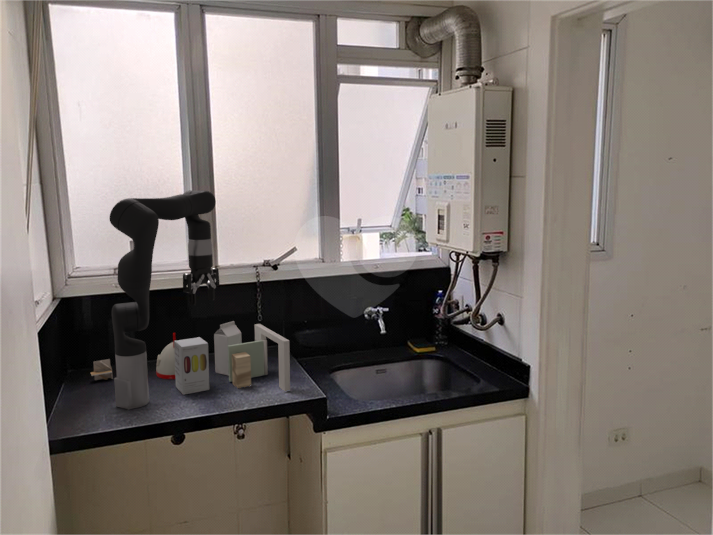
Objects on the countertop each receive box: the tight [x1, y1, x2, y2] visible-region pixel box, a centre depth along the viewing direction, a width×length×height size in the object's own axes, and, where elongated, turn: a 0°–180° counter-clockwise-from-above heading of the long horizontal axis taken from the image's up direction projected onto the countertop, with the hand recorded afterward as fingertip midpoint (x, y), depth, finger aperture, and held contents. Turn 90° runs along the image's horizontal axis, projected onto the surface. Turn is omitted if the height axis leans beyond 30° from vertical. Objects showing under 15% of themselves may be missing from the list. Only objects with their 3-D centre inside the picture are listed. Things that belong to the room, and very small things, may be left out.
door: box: [228, 339, 269, 382], centre depth 205 cm, size 15×3×13 cm, turn 122°
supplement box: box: [174, 336, 210, 396], centre depth 195 cm, size 10×9×17 cm
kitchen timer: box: [155, 332, 177, 380], centre depth 211 cm, size 14×14×15 cm
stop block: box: [232, 352, 252, 390], centre depth 198 cm, size 5×5×11 cm
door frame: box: [254, 323, 291, 392], centre depth 202 cm, size 26×2×18 cm, turn 32°
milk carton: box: [213, 320, 243, 377], centre depth 211 cm, size 7×7×19 cm
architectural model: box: [90, 358, 114, 381], centre depth 203 cm, size 3×7×7 cm, turn 122°
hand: (202, 302), depth 184 cm, fingers open, 8 cm apart
